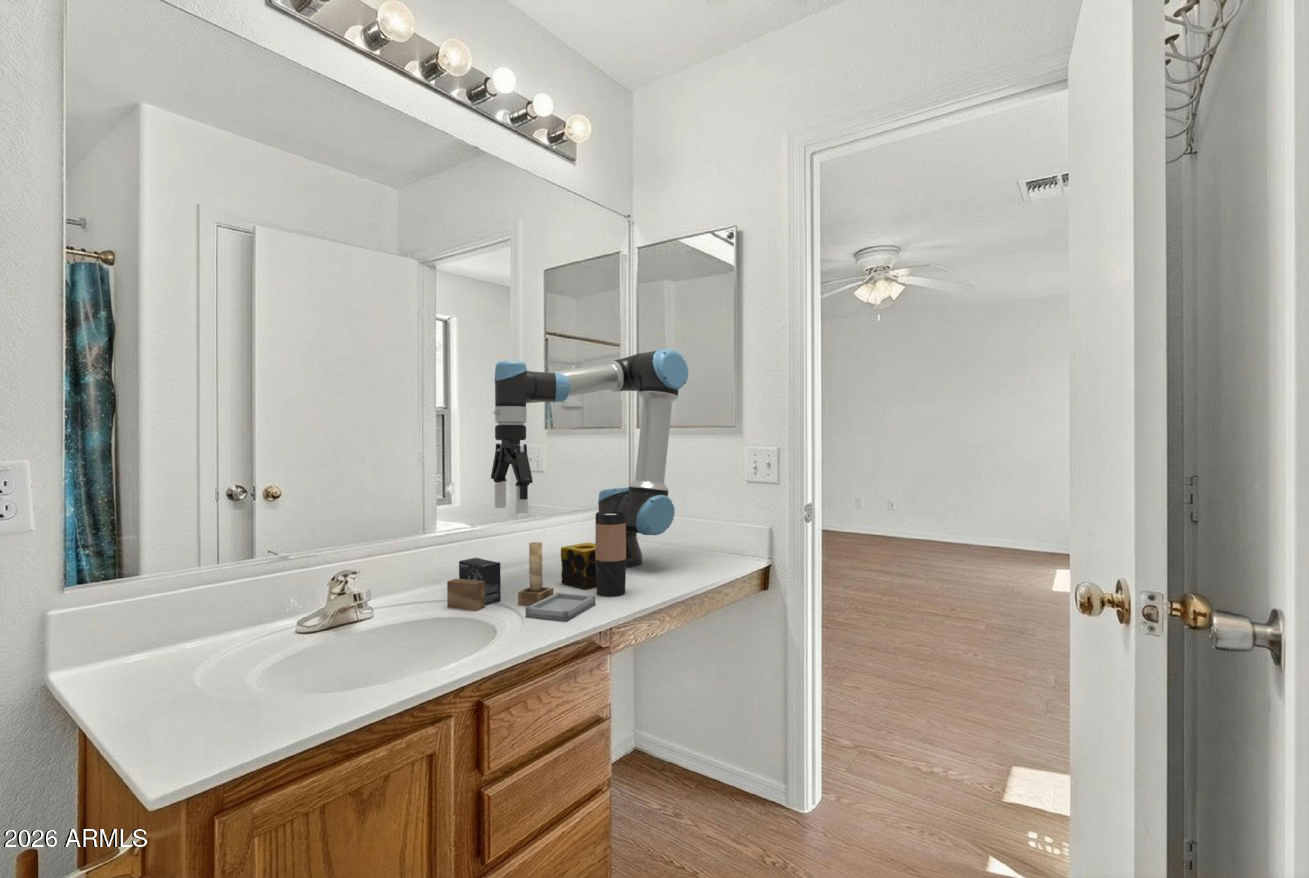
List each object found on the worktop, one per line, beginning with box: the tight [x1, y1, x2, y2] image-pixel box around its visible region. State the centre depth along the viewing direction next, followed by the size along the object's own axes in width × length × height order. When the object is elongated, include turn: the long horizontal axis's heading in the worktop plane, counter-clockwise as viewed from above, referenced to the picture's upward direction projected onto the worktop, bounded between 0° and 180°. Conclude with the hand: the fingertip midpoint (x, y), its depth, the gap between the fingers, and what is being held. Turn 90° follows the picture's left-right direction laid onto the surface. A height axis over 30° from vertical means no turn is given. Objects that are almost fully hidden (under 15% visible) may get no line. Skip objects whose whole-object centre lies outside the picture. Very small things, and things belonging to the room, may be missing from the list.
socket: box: [517, 586, 555, 607], centre depth 148 cm, size 6×6×3 cm
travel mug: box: [595, 511, 627, 598], centre depth 157 cm, size 8×8×20 cm
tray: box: [525, 592, 596, 623], centre depth 141 cm, size 14×10×2 cm
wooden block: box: [446, 578, 486, 612], centre depth 144 cm, size 3×8×6 cm, turn 70°
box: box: [458, 557, 502, 606], centre depth 150 cm, size 9×6×10 cm, turn 52°
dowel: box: [528, 541, 543, 593], centre depth 148 cm, size 3×3×14 cm
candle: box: [560, 542, 596, 590], centre depth 167 cm, size 10×10×10 cm
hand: (510, 510), depth 155 cm, fingers open, 13 cm apart
